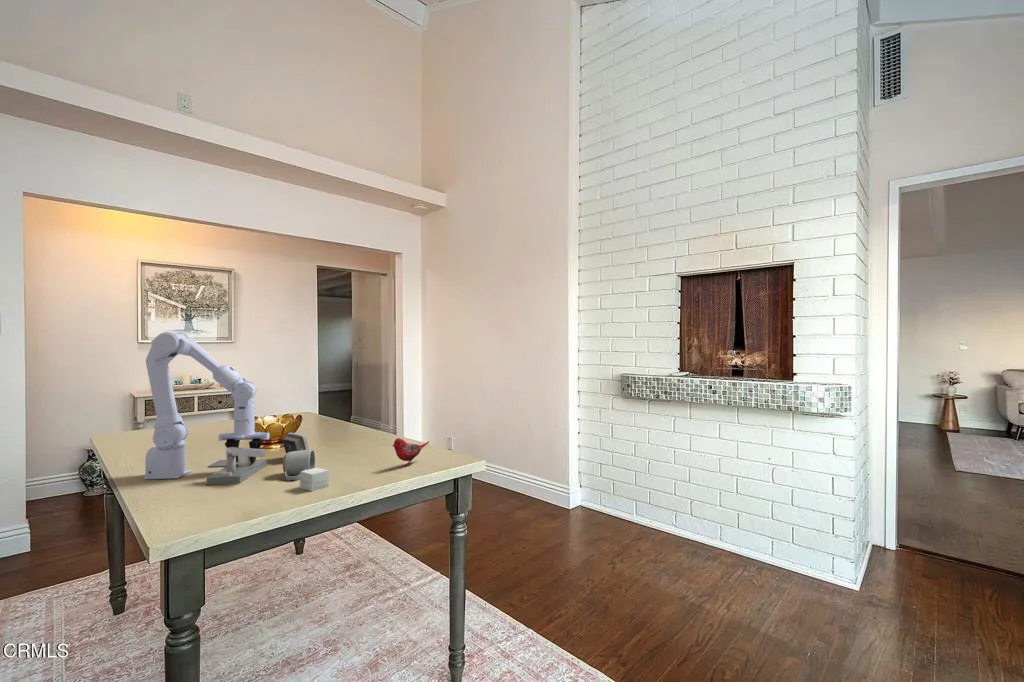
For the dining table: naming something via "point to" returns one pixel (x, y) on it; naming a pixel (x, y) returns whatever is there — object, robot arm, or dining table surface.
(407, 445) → the decorative bird figurine
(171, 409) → the robot arm
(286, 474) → the ceramic mug
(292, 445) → the electrical switch
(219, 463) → the rubber mat
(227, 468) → the grey panel with tab
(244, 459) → the mushroom
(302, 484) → the small box
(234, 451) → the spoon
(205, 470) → the dining table surface
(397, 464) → the dining table surface
